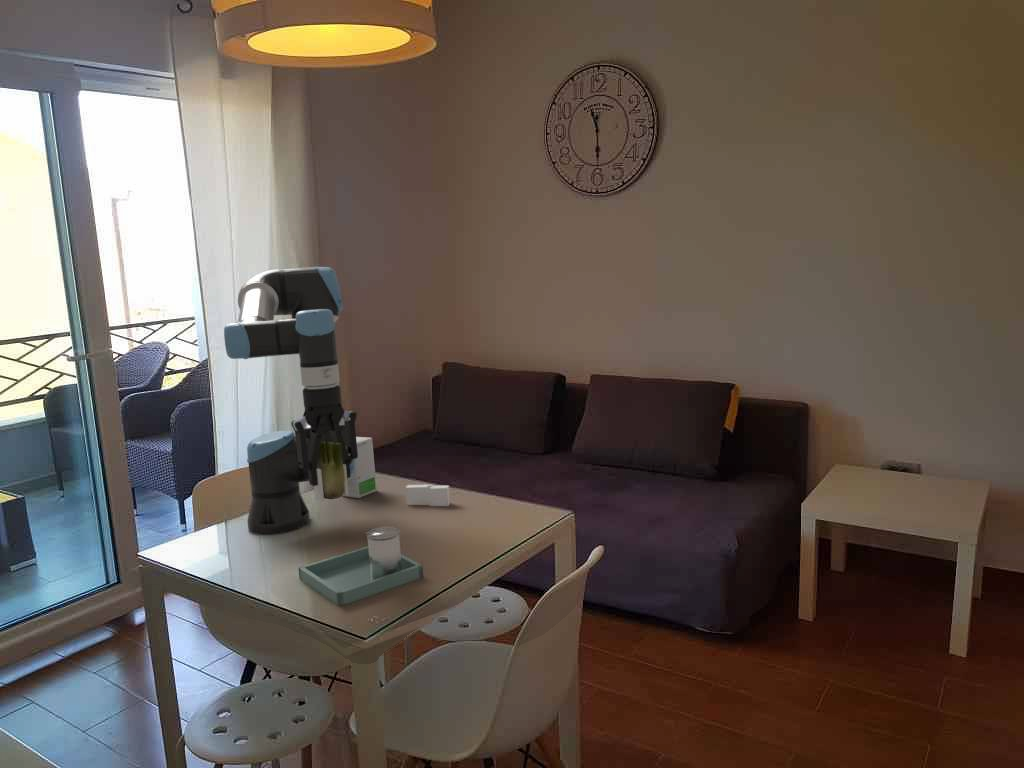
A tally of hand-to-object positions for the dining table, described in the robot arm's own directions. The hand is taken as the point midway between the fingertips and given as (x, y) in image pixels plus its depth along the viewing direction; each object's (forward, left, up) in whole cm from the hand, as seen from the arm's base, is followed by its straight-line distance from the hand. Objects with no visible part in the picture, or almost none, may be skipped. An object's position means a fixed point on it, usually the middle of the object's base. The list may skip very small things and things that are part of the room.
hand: (331, 496), depth 170 cm
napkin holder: (-27, +40, -18) cm, 51 cm away
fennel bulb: (0, 0, -1) cm, 1 cm away
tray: (+6, +2, -18) cm, 19 cm away
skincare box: (-50, +31, -18) cm, 62 cm away
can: (+10, +5, -17) cm, 20 cm away
